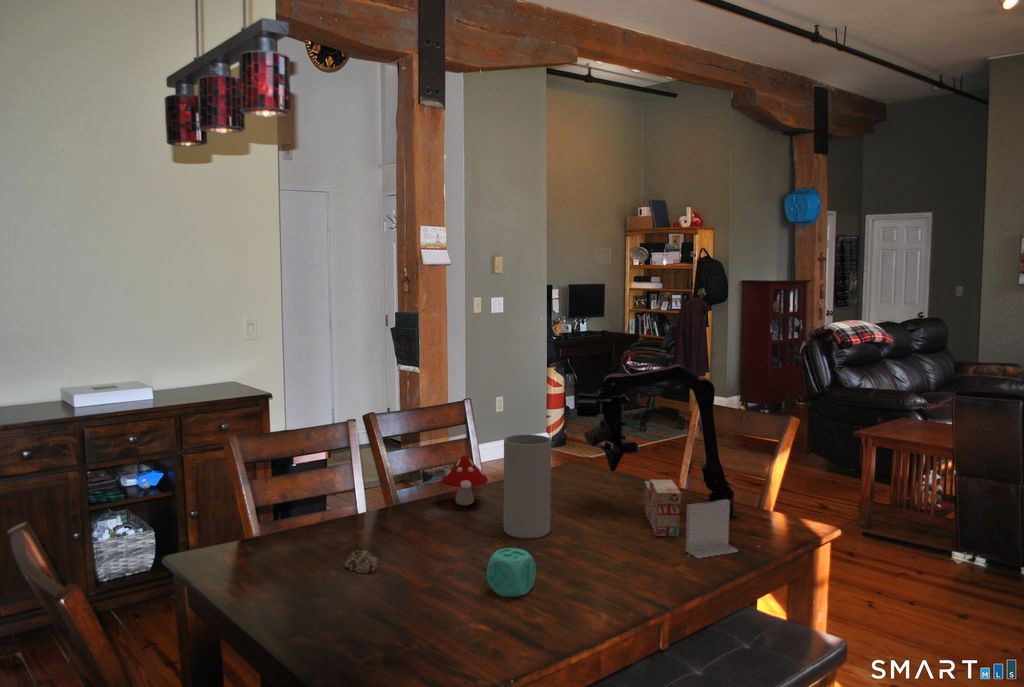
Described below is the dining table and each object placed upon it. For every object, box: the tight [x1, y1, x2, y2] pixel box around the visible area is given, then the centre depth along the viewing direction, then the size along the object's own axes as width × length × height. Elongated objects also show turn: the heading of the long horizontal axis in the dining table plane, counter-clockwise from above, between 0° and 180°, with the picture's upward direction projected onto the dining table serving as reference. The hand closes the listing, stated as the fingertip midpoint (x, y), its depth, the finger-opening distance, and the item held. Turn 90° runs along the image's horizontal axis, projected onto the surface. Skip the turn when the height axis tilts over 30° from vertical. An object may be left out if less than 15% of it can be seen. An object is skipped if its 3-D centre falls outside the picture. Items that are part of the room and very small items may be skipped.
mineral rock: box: [344, 549, 380, 574], centre depth 179 cm, size 11×4×8 cm
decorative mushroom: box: [441, 454, 489, 507], centre depth 226 cm, size 14×14×15 cm
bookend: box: [685, 499, 739, 559], centre depth 190 cm, size 12×5×12 cm, turn 112°
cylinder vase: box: [503, 434, 552, 540], centre depth 203 cm, size 12×12×25 cm
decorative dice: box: [486, 547, 537, 598], centre depth 167 cm, size 8×8×8 cm
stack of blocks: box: [643, 479, 682, 538], centre depth 211 cm, size 21×6×12 cm, turn 179°
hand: (612, 470), depth 222 cm, fingers closed
